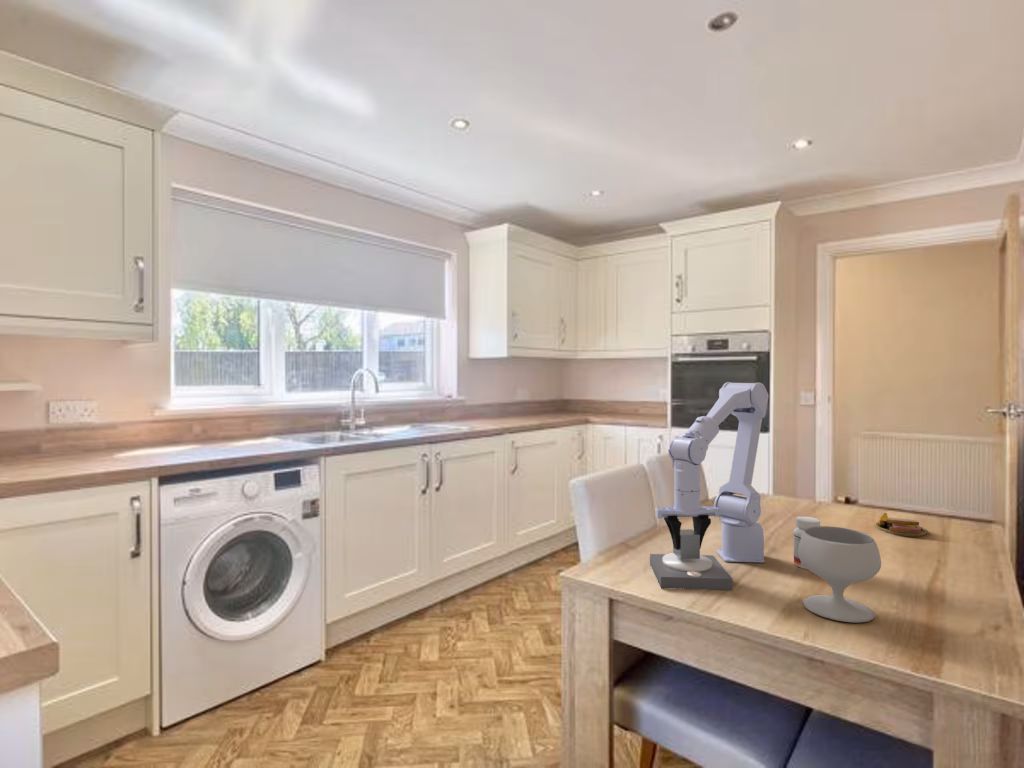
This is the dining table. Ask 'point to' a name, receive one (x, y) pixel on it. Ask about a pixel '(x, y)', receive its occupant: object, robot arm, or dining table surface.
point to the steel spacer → (688, 545)
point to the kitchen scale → (690, 572)
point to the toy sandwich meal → (900, 526)
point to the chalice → (839, 569)
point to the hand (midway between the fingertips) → (687, 547)
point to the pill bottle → (802, 526)
